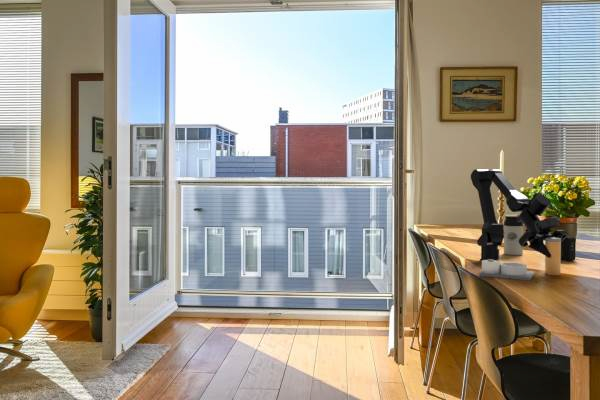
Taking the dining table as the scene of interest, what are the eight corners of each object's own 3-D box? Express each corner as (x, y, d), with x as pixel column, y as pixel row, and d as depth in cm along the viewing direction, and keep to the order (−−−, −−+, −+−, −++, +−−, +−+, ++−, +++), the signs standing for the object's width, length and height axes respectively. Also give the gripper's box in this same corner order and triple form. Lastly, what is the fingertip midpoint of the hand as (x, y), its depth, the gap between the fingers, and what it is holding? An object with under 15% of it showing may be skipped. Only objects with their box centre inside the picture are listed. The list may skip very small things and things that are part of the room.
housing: (479, 275, 180) (479, 260, 179) (486, 270, 190) (487, 255, 190) (529, 280, 171) (530, 264, 171) (534, 274, 182) (534, 258, 181)
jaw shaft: (544, 274, 181) (544, 238, 181) (545, 272, 186) (546, 237, 185) (559, 275, 179) (560, 239, 178) (560, 273, 183) (561, 237, 182)
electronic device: (569, 261, 208) (569, 237, 208) (547, 258, 217) (547, 235, 217) (575, 260, 210) (575, 237, 210) (553, 257, 219) (554, 234, 219)
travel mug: (508, 252, 235) (508, 214, 234) (525, 254, 229) (525, 214, 228) (500, 254, 229) (501, 215, 228) (518, 256, 224) (518, 215, 223)
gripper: (524, 209, 182) (548, 243, 172) (564, 208, 188) (589, 241, 178) (508, 229, 190) (530, 263, 180) (547, 227, 196) (570, 259, 186)
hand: (555, 256), depth 181 cm, fingers open, 5 cm apart
